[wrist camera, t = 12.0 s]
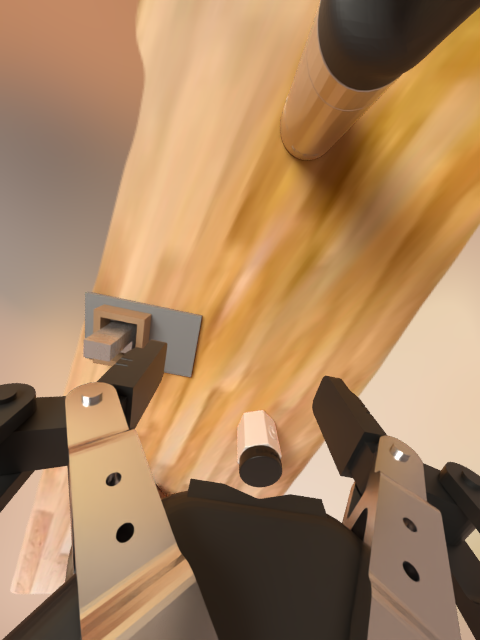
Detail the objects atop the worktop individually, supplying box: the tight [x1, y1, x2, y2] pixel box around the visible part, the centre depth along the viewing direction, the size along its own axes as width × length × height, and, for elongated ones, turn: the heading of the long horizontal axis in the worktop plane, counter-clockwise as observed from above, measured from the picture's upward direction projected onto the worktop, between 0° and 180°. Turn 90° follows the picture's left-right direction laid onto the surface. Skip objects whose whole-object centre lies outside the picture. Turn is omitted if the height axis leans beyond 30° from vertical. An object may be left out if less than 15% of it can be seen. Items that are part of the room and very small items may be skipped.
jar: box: [237, 410, 282, 487], centre depth 48 cm, size 9×8×12 cm
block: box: [84, 320, 137, 362], centre depth 40 cm, size 6×4×10 cm, turn 166°
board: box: [85, 292, 202, 377], centre depth 44 cm, size 14×22×4 cm, turn 77°
